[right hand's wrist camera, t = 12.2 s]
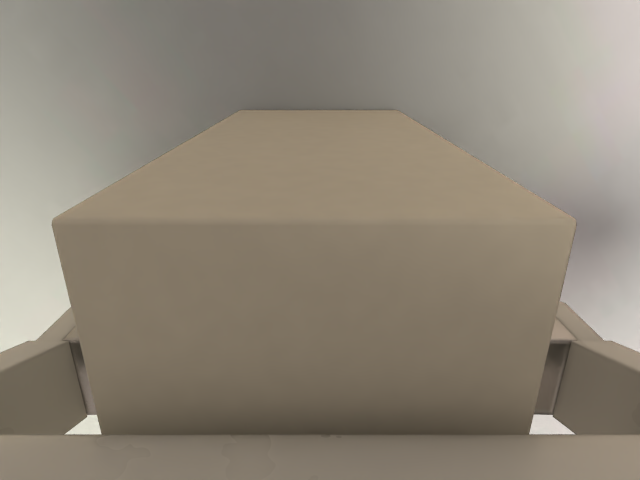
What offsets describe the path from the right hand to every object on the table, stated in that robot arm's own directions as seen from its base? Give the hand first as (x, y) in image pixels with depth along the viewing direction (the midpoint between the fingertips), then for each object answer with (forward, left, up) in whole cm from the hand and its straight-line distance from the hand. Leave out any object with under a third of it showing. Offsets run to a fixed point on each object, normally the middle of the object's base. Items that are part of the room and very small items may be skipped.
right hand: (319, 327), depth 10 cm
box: (+5, +7, -8) cm, 12 cm away
